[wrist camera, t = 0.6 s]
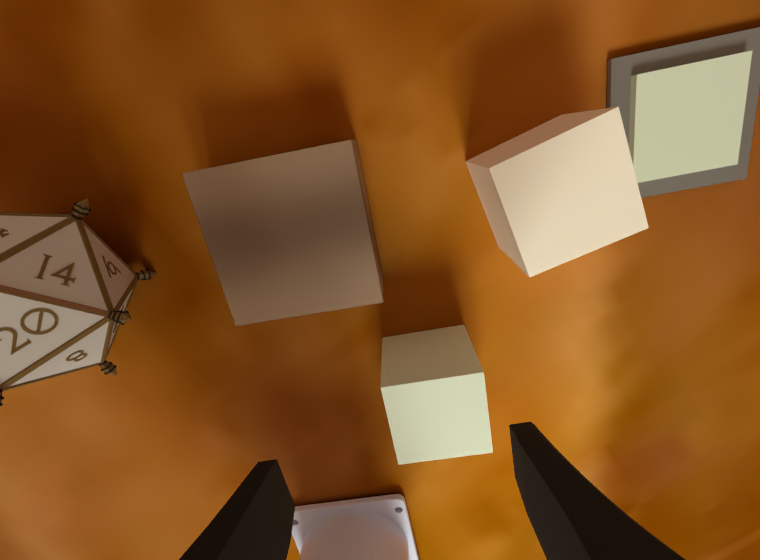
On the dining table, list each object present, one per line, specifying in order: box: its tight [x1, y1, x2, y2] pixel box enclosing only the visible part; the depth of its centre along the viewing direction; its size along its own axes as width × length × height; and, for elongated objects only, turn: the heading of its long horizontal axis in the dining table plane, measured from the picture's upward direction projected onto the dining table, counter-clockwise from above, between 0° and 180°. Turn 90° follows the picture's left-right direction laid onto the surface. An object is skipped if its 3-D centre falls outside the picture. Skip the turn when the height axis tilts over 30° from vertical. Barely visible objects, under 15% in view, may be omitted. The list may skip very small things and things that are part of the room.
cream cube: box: [465, 107, 648, 277], centre depth 16 cm, size 4×4×4 cm
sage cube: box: [381, 325, 493, 465], centre depth 19 cm, size 4×4×4 cm
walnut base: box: [182, 140, 384, 326], centre depth 17 cm, size 7×7×3 cm
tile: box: [607, 27, 760, 198], centre depth 16 cm, size 6×6×1 cm
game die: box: [0, 198, 156, 406], centre depth 16 cm, size 9×8×10 cm
